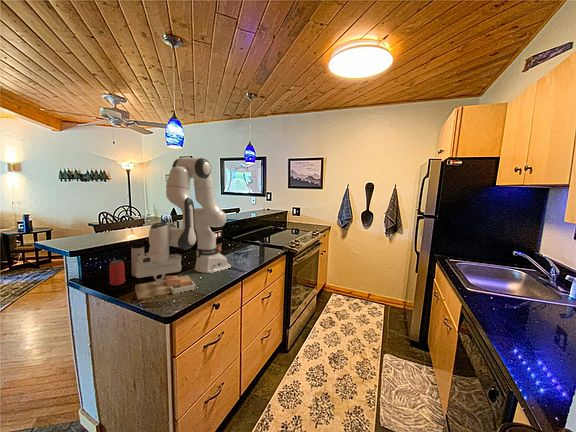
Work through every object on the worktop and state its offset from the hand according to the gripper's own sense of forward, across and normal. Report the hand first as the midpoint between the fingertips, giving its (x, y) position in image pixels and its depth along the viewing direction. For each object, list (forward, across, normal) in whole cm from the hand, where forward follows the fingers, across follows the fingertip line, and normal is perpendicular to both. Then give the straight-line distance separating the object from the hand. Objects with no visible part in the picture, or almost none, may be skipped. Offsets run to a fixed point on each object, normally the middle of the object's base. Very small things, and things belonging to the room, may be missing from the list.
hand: (159, 282), depth 121 cm
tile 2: (+4, -12, 0) cm, 13 cm away
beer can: (+5, +16, -20) cm, 26 cm away
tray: (+4, -10, 0) cm, 11 cm away
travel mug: (+4, +6, -28) cm, 29 cm away
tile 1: (+2, -6, 0) cm, 6 cm away
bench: (+4, +3, 0) cm, 5 cm away
